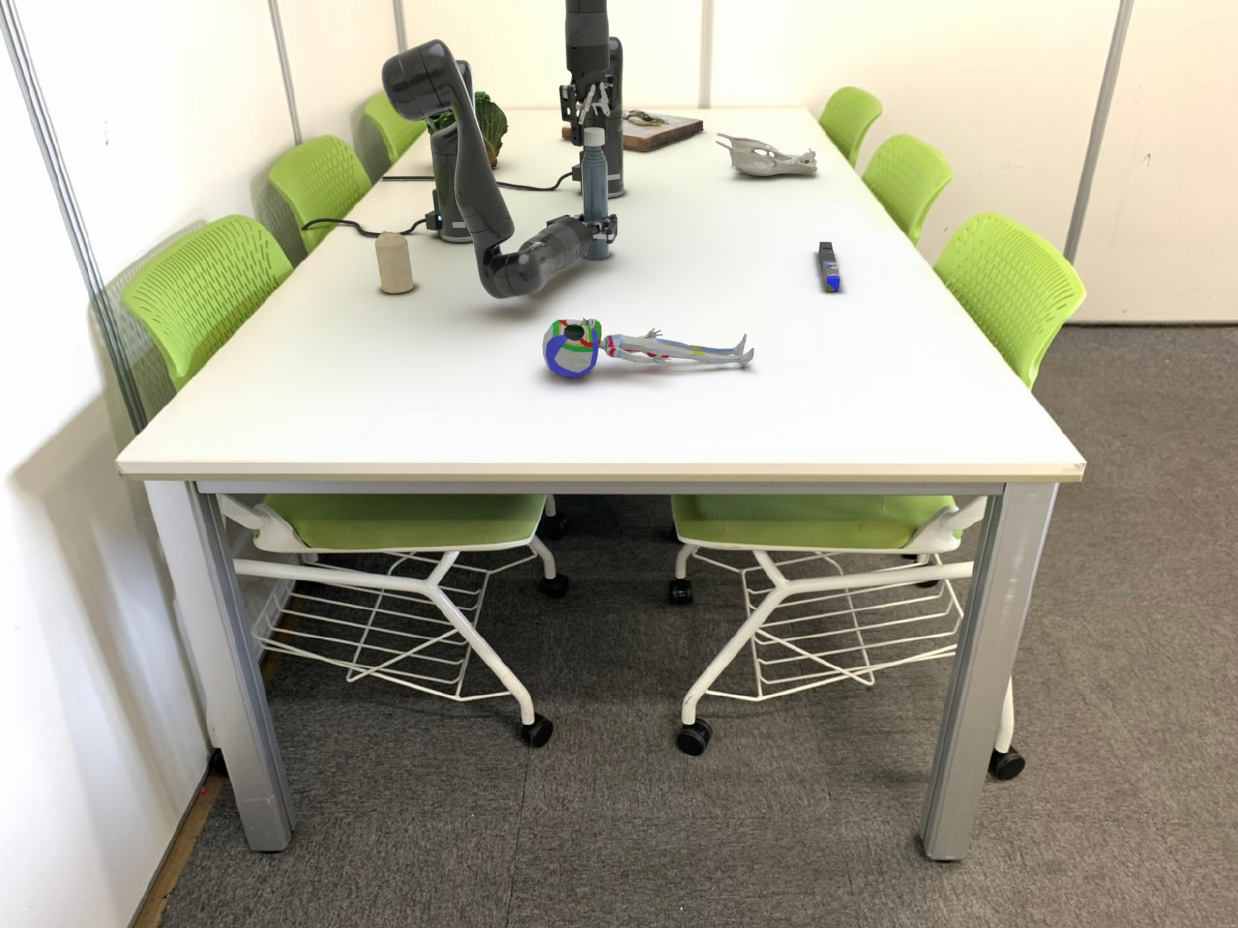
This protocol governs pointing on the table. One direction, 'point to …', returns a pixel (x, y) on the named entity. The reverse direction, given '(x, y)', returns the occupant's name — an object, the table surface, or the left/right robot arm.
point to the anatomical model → (766, 158)
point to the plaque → (651, 129)
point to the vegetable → (488, 121)
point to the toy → (622, 348)
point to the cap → (594, 136)
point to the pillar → (829, 266)
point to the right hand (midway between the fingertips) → (590, 141)
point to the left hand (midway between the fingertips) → (601, 217)
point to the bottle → (595, 196)
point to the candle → (394, 262)
